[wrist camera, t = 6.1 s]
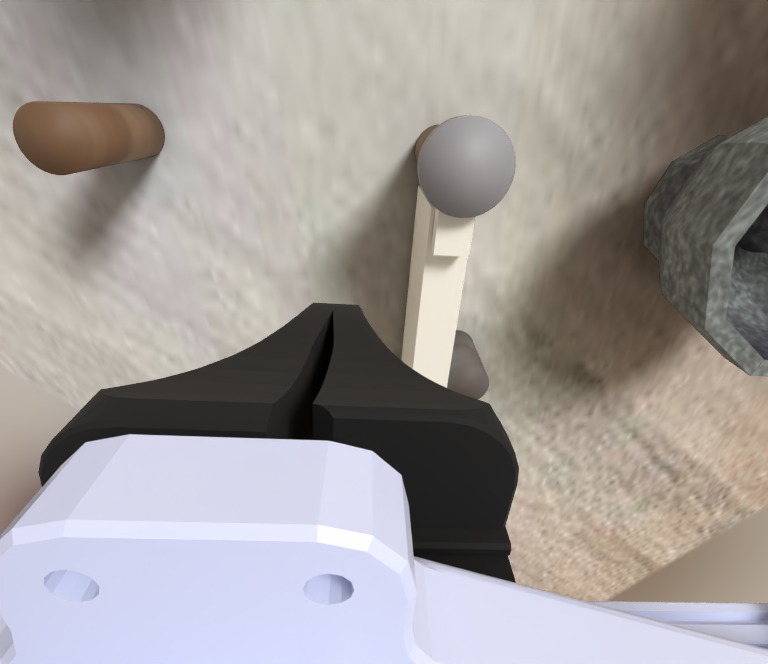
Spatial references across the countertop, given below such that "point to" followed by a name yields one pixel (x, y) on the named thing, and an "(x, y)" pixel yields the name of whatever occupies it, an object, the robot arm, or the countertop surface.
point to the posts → (145, 139)
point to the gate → (449, 232)
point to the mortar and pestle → (717, 243)
